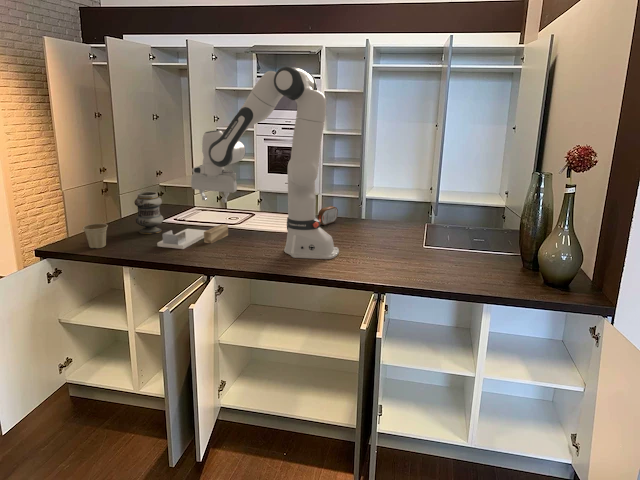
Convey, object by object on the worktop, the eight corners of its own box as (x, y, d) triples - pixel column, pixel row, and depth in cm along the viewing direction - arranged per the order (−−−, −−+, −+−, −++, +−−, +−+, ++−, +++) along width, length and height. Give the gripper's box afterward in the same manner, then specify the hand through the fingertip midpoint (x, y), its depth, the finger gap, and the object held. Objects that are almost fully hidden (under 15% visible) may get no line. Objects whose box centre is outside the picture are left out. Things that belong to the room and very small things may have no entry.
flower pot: (79, 248, 198) (77, 227, 195) (97, 242, 206) (95, 222, 204) (97, 251, 194) (95, 230, 192) (114, 244, 203) (112, 224, 201)
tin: (333, 220, 251) (334, 204, 249) (338, 221, 249) (339, 205, 247) (316, 225, 239) (316, 209, 237) (321, 226, 237) (322, 210, 235)
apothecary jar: (142, 236, 215) (139, 196, 210) (132, 230, 224) (129, 192, 219) (168, 232, 223) (165, 193, 218) (157, 226, 232) (154, 189, 227)
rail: (228, 235, 220) (227, 225, 219) (211, 244, 207) (210, 232, 206) (221, 234, 221) (221, 224, 220) (204, 243, 209) (203, 231, 207)
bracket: (210, 234, 221) (210, 222, 220) (183, 249, 199) (182, 236, 197) (187, 231, 224) (186, 220, 223) (157, 246, 202) (156, 233, 200)
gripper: (239, 169, 206) (239, 201, 210) (195, 166, 211) (197, 197, 215) (232, 171, 200) (233, 204, 204) (188, 168, 205) (189, 200, 209)
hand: (214, 201), depth 209 cm, fingers open, 8 cm apart
